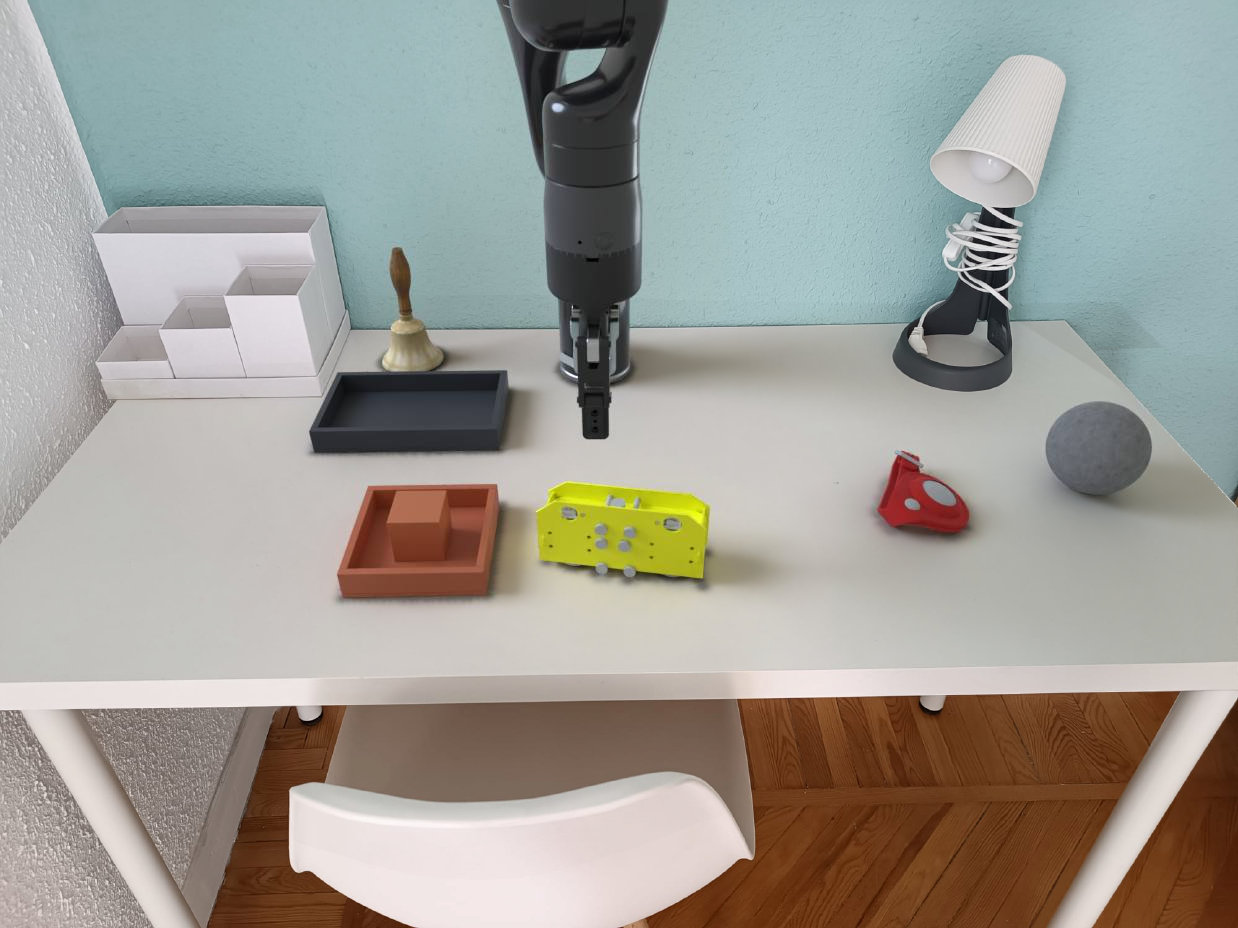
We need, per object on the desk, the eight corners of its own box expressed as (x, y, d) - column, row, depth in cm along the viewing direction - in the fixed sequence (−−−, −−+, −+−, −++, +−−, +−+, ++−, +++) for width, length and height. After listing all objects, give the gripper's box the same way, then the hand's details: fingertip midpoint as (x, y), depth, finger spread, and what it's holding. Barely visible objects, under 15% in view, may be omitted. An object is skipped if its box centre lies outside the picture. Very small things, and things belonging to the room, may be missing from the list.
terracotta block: (403, 529, 90) (396, 490, 87) (452, 528, 90) (446, 490, 87) (394, 561, 86) (386, 522, 83) (445, 561, 86) (439, 522, 83)
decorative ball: (1021, 458, 101) (1046, 383, 95) (1109, 459, 100) (1140, 384, 94) (1053, 512, 92) (1082, 434, 87) (1149, 514, 92) (1185, 436, 86)
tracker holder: (992, 512, 91) (935, 528, 85) (968, 540, 93) (911, 558, 88) (913, 435, 97) (855, 445, 92) (893, 464, 100) (835, 476, 94)
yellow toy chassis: (539, 569, 86) (533, 502, 81) (552, 532, 90) (548, 466, 85) (701, 588, 83) (706, 520, 79) (707, 548, 88) (711, 483, 83)
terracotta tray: (372, 507, 94) (367, 485, 92) (499, 505, 94) (497, 483, 92) (342, 597, 83) (336, 574, 81) (486, 595, 83) (483, 572, 81)
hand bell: (396, 343, 124) (378, 235, 114) (452, 348, 122) (438, 239, 113) (372, 372, 117) (350, 259, 108) (430, 378, 116) (413, 264, 106)
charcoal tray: (341, 392, 113) (337, 372, 111) (508, 390, 113) (507, 370, 111) (314, 452, 102) (308, 431, 100) (499, 450, 102) (497, 429, 100)
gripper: (550, 200, 73) (558, 370, 82) (537, 269, 61) (548, 457, 71) (640, 200, 73) (638, 369, 82) (644, 269, 61) (641, 457, 71)
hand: (596, 410), depth 77 cm, fingers open, 8 cm apart
